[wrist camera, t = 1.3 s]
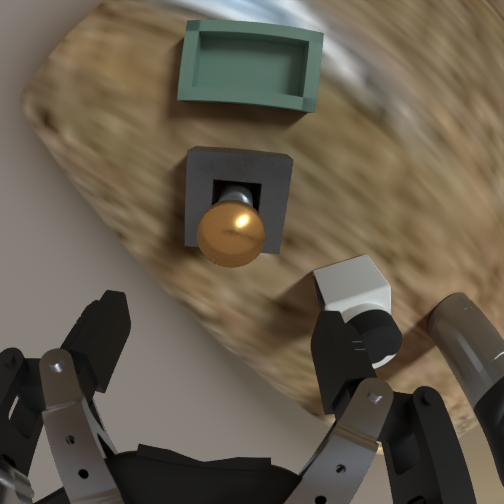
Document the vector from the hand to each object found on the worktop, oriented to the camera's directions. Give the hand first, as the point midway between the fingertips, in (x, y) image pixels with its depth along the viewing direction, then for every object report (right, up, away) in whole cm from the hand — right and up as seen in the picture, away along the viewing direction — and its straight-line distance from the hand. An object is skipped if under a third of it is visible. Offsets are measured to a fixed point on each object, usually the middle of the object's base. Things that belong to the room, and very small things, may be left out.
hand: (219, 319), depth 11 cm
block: (0, +9, +17) cm, 19 cm away
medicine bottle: (+13, -1, +23) cm, 26 cm away
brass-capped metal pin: (0, +9, +17) cm, 19 cm away
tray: (+1, +20, +11) cm, 23 cm away
